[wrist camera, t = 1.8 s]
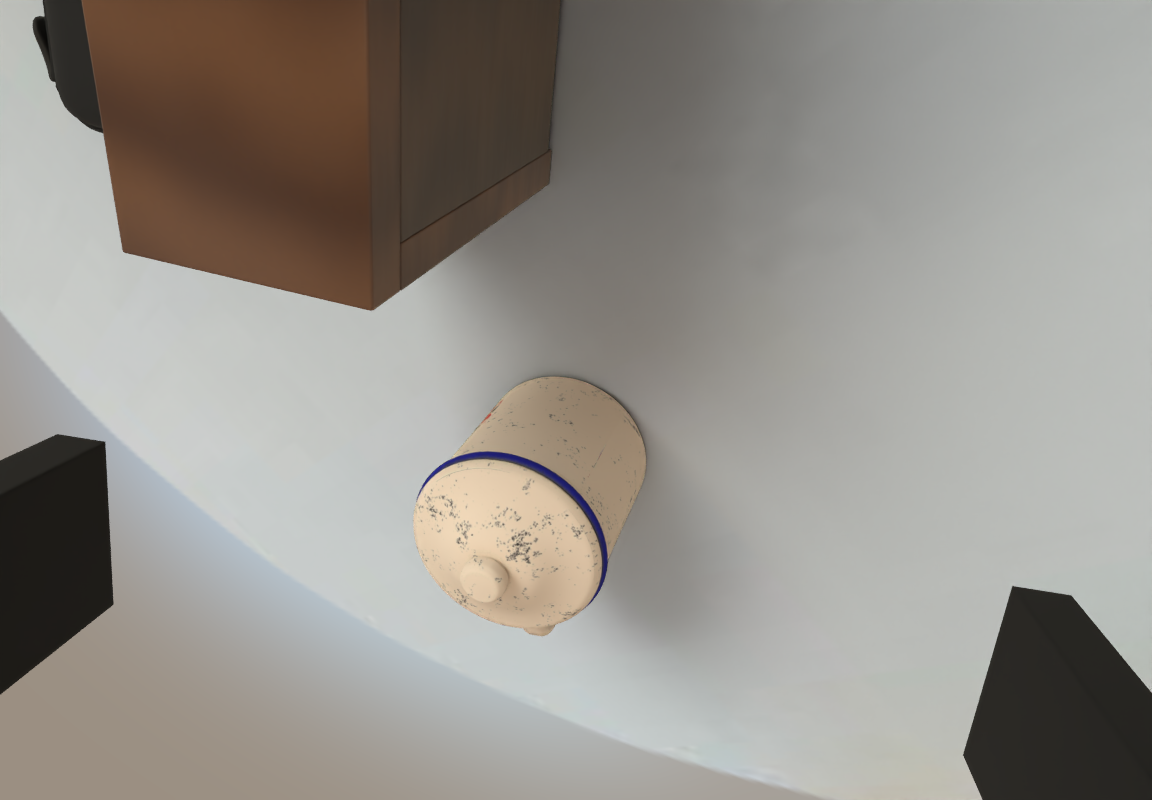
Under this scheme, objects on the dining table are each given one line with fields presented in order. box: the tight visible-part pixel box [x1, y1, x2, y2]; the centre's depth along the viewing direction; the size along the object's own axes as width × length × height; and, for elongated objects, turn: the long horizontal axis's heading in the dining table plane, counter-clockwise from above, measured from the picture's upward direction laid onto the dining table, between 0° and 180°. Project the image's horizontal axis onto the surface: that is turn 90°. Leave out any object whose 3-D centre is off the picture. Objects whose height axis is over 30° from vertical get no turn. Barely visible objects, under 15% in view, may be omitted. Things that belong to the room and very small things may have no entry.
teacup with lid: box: [413, 377, 646, 636], centre depth 42 cm, size 12×9×12 cm
